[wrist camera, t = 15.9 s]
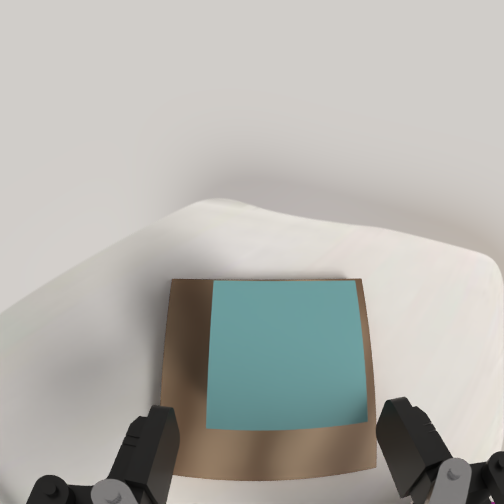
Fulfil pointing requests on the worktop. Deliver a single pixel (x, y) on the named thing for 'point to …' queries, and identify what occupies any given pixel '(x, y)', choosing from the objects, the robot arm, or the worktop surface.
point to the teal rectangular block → (285, 356)
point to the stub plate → (249, 441)
